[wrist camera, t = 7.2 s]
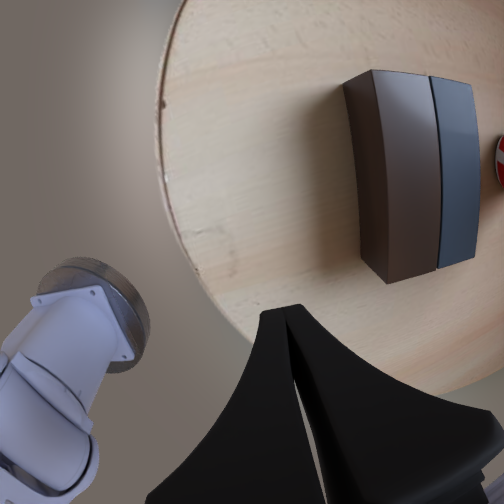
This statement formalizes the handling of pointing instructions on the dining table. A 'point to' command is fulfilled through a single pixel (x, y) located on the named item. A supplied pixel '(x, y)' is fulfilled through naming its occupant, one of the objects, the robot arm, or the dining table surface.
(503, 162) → the beverage can
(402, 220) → the walnut bar
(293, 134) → the dining table surface
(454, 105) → the slate bar
